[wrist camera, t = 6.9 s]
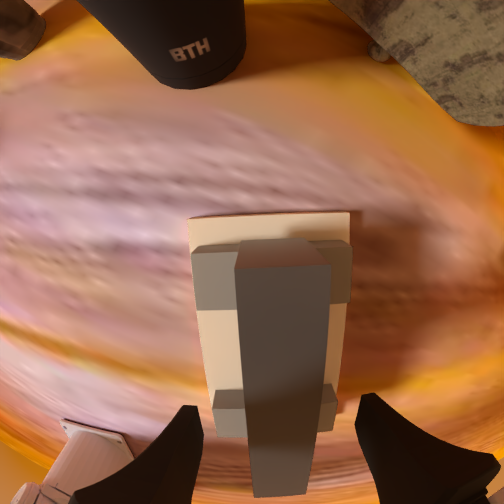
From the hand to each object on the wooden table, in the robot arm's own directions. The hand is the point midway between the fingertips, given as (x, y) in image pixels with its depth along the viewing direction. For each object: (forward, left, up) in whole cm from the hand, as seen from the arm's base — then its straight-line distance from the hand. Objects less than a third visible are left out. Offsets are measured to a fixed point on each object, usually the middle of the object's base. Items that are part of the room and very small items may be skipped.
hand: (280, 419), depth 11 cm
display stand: (0, 0, -8) cm, 8 cm away
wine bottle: (+19, +4, -8) cm, 21 cm away
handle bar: (0, 0, -5) cm, 5 cm away
